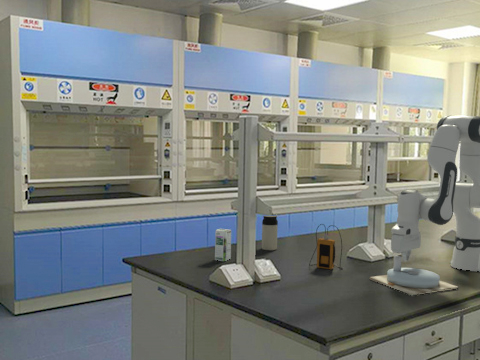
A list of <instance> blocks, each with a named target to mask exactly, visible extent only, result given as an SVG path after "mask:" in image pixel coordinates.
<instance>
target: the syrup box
mask: <svg viewBox="0 0 480 360" xmlns="http://www.w3.org/2000/svg"><path fill="white" fill-rule="evenodd" d="M214 234H215V236H214V237H215V241H214V242H215V243H214V249H215V250H214V261H217V260H218V262H219V261H220V262H224V261H226V262H228V261H230V260H231V257H232V229H226V228H217V229H216V230H215V233H214ZM229 259H230V260H229ZM227 260H228V261H227Z"/></svg>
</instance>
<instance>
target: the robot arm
mask: <svg viewBox="0 0 480 360" xmlns="http://www.w3.org/2000/svg"><path fill="white" fill-rule="evenodd" d="M459 145H460V146H459ZM428 148H429V149H428V152H427V159H426V160H427V163H428V165H429V166H430V167H431V169H432V170H434V172H435V171H436V172H437V174H438V175H439V177H440V182H439V189H438V195H437V197H436V198H431V197H427V196H425V195H424V194H422V193H421V192H420V191H419V190H418V189H406V190H405V189H404V190H402V191H401V192H400V193H399V196H398V200H397V218H396V223H395V225H394V226H392V228H391V229H390V233H391V240H390V249H391V251H392V253H395V254H401V256H402V258H401V262H407V261H410V256H411V253H412V251H414V250H417V249H419V248H420V247H421V244H422V243H421V242H422V236H421V235H422V234H421V231H420V229H419V227H420V220H422V221H426V222H430V223H433V224H435V225H438V226H444V225H446V224H447V223H449V222H450V221H451V219H452V218H453V216H454V217H455V222H456V233H455V234H456V235H455V236H454V244H455V246H454V247H453V251H452V256H451V257H452V258H451V260H450V261H449V263H450V266H451V267H452V268H454V269H456V268H457V269H458V270H460V269H462V270H461V271H466V270H470V271H469V272H477V271H479V273H480V217H479V216H478V215H475V214H474V213H473V212H471V211H472V210H471V208H474V209H480V116H478V115H476V116H475V115H465V114H463V115H446V116H442V117H441V118H440V119H439V121H438V122H437V125H436V131H435V133H434V136H433V137H432V140H431V143H430V145H429V147H428ZM458 150H459V160H458V161H459V164H458V165H459V166H458V167H457V165H456V159H457V153H458ZM458 168H459V171H460V172H461V174H462V175H464V176H466V177H468V178H469V179H470V180H471V181H472V182H471V183H470V182H457V178H458Z"/></svg>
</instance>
